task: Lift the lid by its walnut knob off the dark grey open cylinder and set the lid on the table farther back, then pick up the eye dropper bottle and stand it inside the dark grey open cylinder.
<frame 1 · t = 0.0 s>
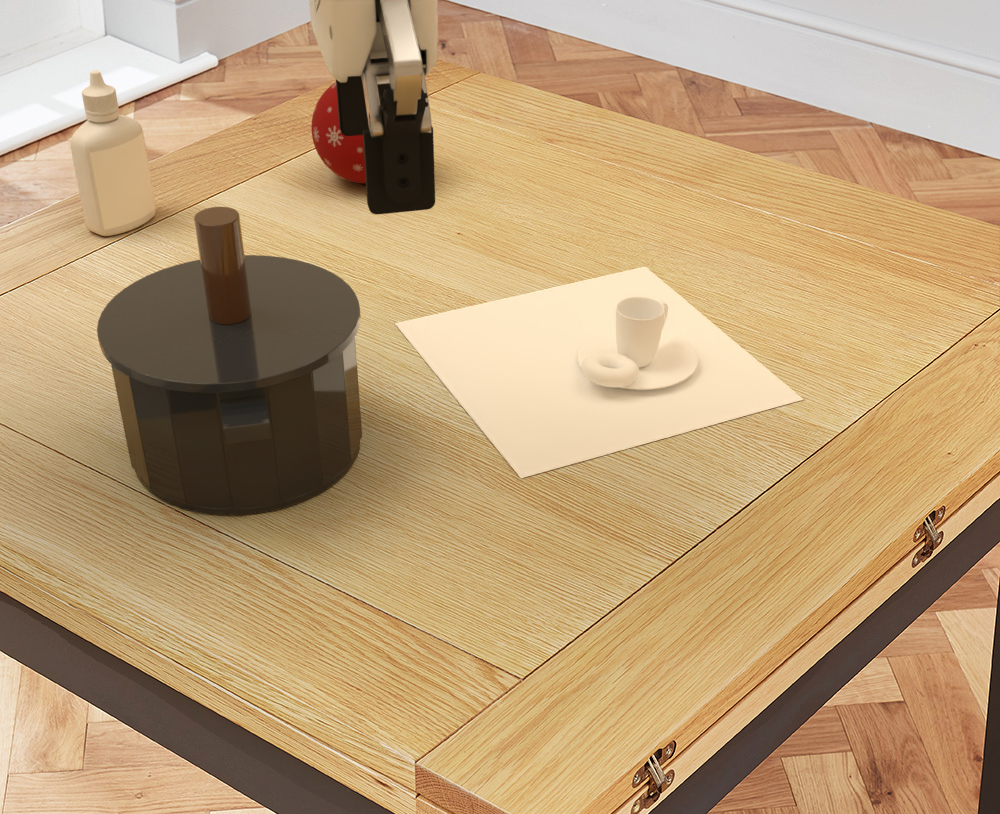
hand: (384, 168, 68), 19 cm above the table, tool pointing down, fingers open, 9 cm apart
dark grey open cylinder: (247, 446, 82), on the table
christmas ornament: (367, 181, 113), on the table
teacup and saucer: (590, 362, 90), on the table
basin lid: (231, 323, 76), point 8 cm above the table, touching dark grey open cylinder
eye dropper bottle: (122, 225, 106), on the table
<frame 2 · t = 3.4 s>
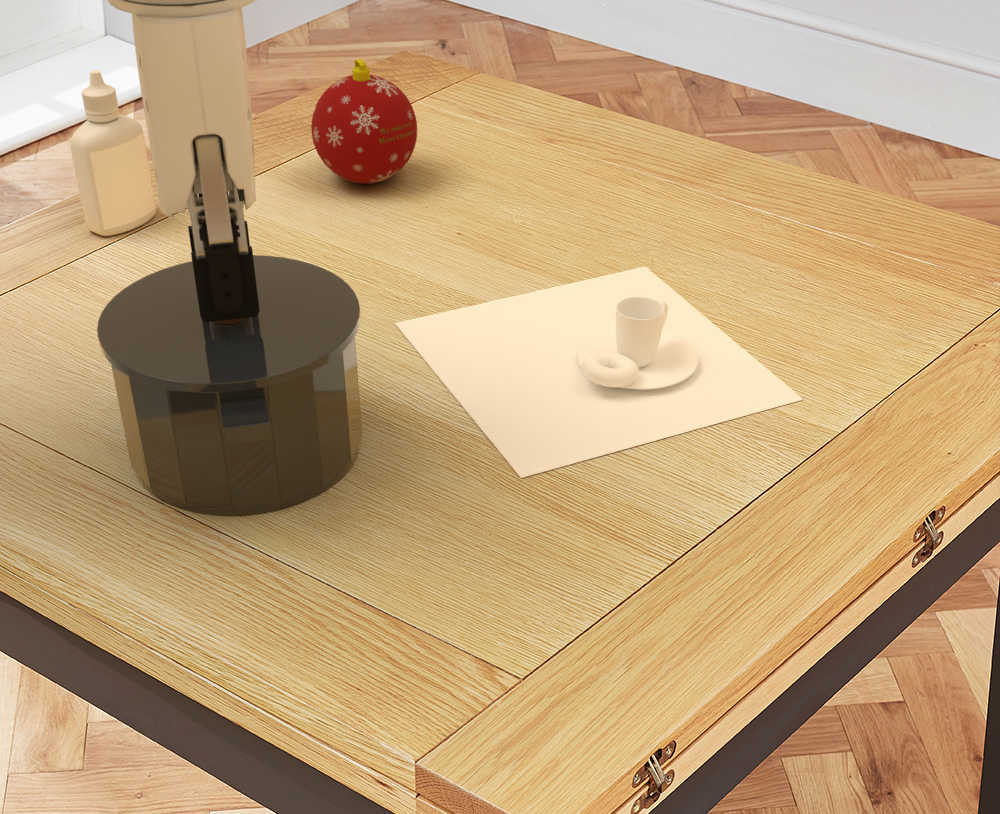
hand: (228, 300, 76), 10 cm above the table, tool pointing down, fingers closed on basin lid, 2 cm apart
basin lid: (231, 323, 76), point 9 cm above the table, touching dark grey open cylinder, gripper
everything else where it was.
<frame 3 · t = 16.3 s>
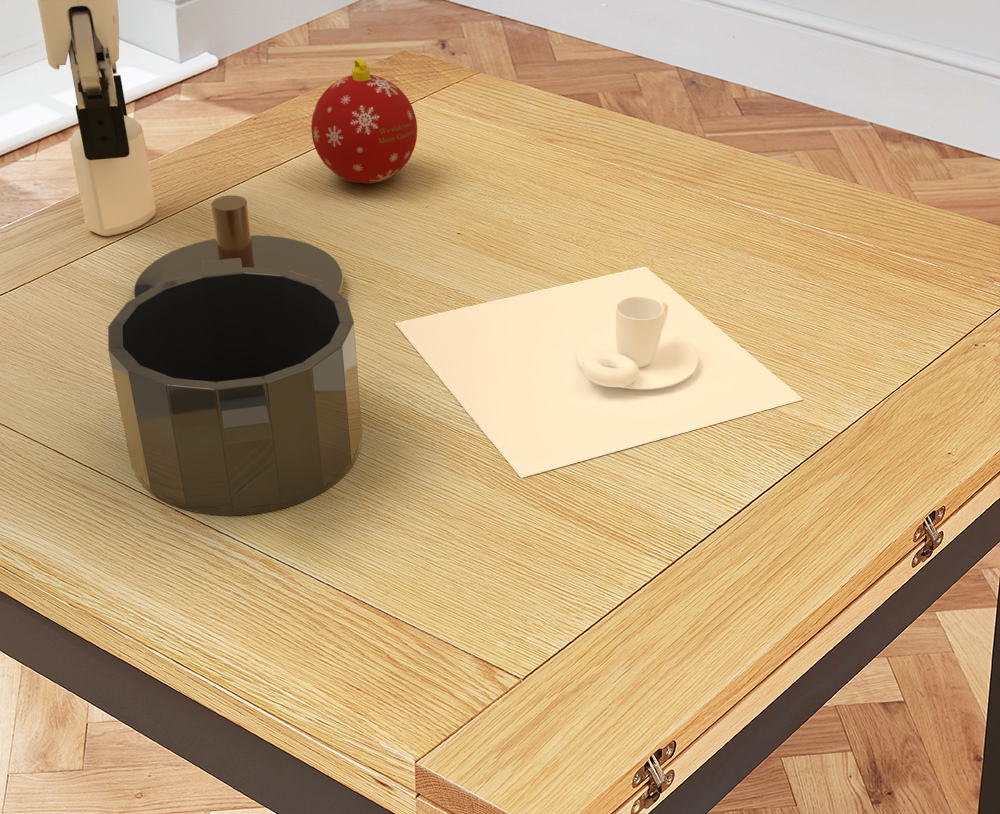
hand: (107, 140, 102), 7 cm above the table, tool pointing down, fingers closed on eye dropper bottle, 4 cm apart
basin lid: (240, 288, 96), point 1 cm above the table
eye dropper bottle: (123, 225, 106), on the table, touching gripper
everything else where it was.
when the fingers open (7 cm above the table, at t = 24.6 s): eye dropper bottle stays where it is, resting on dark grey open cylinder.
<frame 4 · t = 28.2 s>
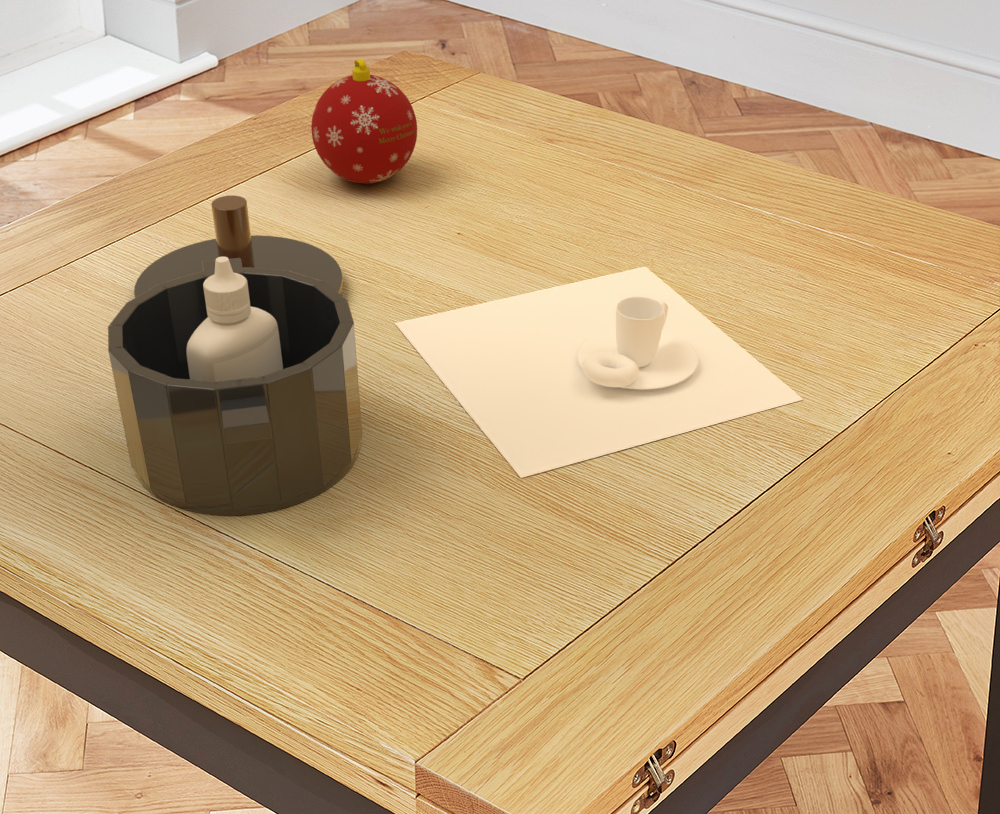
eye dropper bottle: (246, 442, 81), resting on dark grey open cylinder
everything else where it was.
at the end: basin lid inside the target area (0.1 cm from its centre), point 0.6 cm above the table; eye dropper bottle inside the target area in the dark grey open cylinder (0.0 cm from its centre), point 0.3 cm above the dark grey open cylinder's base; eye dropper bottle tilted 0° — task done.
